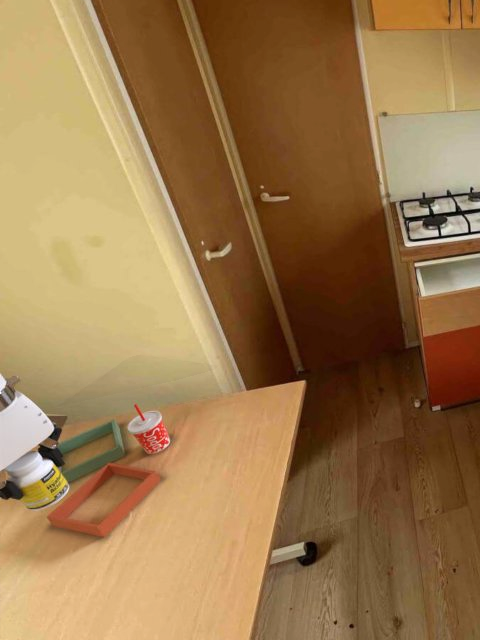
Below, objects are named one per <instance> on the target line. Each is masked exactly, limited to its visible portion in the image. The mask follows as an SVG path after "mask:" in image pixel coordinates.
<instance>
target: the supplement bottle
mask: <svg viewBox="0 0 480 640" xmlns="http://www.w3.org/2000/svg"><path fill="white" fill-rule="evenodd" d="M5 473H6V474H7V475H9V476H8V478H7V480H8V481H12V482H13V483H14V484H15V485H16V486H17V487H18V489H19V490H20V491H21V492H22V493H23V495H24V496H23V498H21V499H20V500H19V501H21V502H22V504H23V505H24V506H25V507H26V509H28V510H29V511H30V512H31V511H32V512H37V511H43V510H45V509H48V508H50V507H52V506H54V505H55V504H57V503H59V502H60V501H61V500H62V499H63V498H64V497H65V496H66V495H67V494H68V492H69V490H70V484H69V482H67V481H66V479H65V478H64V477H63V475H62V474H61V472H60V471H59V470H58V468H57V467H56V465H55V464H54V463H53V461H52V460H51V459H49V458H42V456H41V455H40V454H39V453H38V450H30V451H28V452H27V453H26V454H24V455H23V456H21V457H20V458H18V459H17V460H16V461H14V462H13V463H11V464H10V465H9V466H7V467H6V468H5Z"/></svg>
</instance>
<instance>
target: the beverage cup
mask: <svg viewBox="0 0 480 640" xmlns="http://www.w3.org/2000/svg"><path fill="white" fill-rule="evenodd" d="M133 405H134V406H133V407H134V408H135V410H136V412H137V413H138V415H137V416H136V417H134V418H133V419H131V420H130V421H129V423H128V425H127V426H126V427H127V431H128V432H129V433H130V434H131V435H133V436H134V438H135V439H136V441H137V442H138V443H139V445H140V446H141V447H142V449H143V450H144V451H145V452H146V453H147V454H149V455H151V454H152V455H153V454H158V453H159V452H161V451H163V450H164V449H166V448H167V447H168V446H169V445H170V443H171V437H170V436H169V433H168V431H167V429H166V427H165V426H166V425H165V424H164V421H163V416H162V413H161V412H160V411H159V410H150V411H145V412H142V411H141V409H140V407H139V405H138V404H136V403H135V404H133Z"/></svg>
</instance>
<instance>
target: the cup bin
mask: <svg viewBox="0 0 480 640" xmlns="http://www.w3.org/2000/svg"><path fill="white" fill-rule="evenodd" d="M114 475H120V476H124V477H130V478H135V479H140V480H143V481H142V482H140V484H139V485H137V486H136V488H134V489H133V491H132V492H130V493H129V494H128V495H127V496H126V497H125V498H124V499H123V500H122V501H121V502H120V503H119V504H118V505H117V506H116V507H115V508H114V509H113V510H112V511H111V512H110V513H109V514H108V515H107V516H106V517H105V518H103V520H102V521H101V522H100V523H99V524H96V523H91V522H87V521H84V520H83V521H81V520H78V519H73V518H68V516H70V514H72V513H73V511H74V510H76V509H77V508H78V507H80V505H81V504H82V503H84V501H86V500H87V499H88V498H89V497H90V496H91V495H92V494H93V493H95V492H96V491H97V490H98V489H99V488H100V487H102V485H103V484H104V483H106V482H107V481H108V480H109V479H110V478H111V477H112V476H114ZM159 482H161V477H160V476H159V474H158V473H157V471H156V470H150V469H147V468H141V467H135V466H130V465H124V464H119V463H114V462H110V463H108V464H106V465H103V466H102V468H100V469H99V470H98V471H97V472H96V473H95V474H94V475H93V476H91V477H90V478H89V479H88V480H87V481H86V482H85V483H84V484H82V485H81V486H80V487H79V488H78V489H77V490H76V491H74V492H72V494H71V495H70V496H69V497H67V498H66V499H65V500H64V501H63V502H61V504H59V505H58V506H57V507H56V508H55V509H54V510H52V511H51V512H50V513H49V514H48V515H47V516H46V519H47V520H48V521H49V522H50V524H51V525H52V526H53V527H56V528H61V529H65V530H70V531H74V532H80V533H84V534H89V535H94V536H97V537H102V538H105V537H106V536H107V535H108V534H109V533H110V532H111V531H112V530H113V529H114V528H115V527H116V526H117V525H118V524H119V523H120V522H121V521H122V520H123V519H124V518H125V517H126V516H127V515H128V514H129V513H130V512H131V511H132V510H133V509H134V508H135V506H137V505H138V504H139V503H140V502H141V501H142V500H143V499H144V498H145V497H146V496H147V495H148V493H150V492H151V491H152V489H153V488H154V487H155V486H157V484H159Z"/></svg>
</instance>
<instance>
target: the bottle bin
mask: <svg viewBox="0 0 480 640" xmlns="http://www.w3.org/2000/svg"><path fill="white" fill-rule="evenodd" d="M110 433H113V436H114V443H115V447H112V448H110V449H108V450H106V451H104V452H102V453H100V454H97V455H96V456H93V457H91V458H89V459H87V460H85V461H82V462H81V463H78V464H76V465H74V466H72V467H70V468H67V469H66V470H63V471H62V467H57V468H58V470H59V471H60V472H61V474H62V475H63V477H64V478H65V479H66V481H67V482H68V483H71V482H72V481H75V480H76V479H78V478H81V477H82V476H86V475H87V474H89V473H91V472H93V471H96V470H98V469H99V468H101V467H104V466H105V465H107V464H108V463H113V462H114V461H115V460H118V459H120V458H122V457H124V456H125V455H126V454H125V448H124V443H123V439H122V434H121V429H120V425H119V424H118V422H117V421H116V419H115V418H113V419H111V420H109V421H106V422H104V423H102V424H100V425H97V426H95V427H93V428H90V429H88V430H86V431H83V432H81V433H78V434H76V435H74V436H72V437H70V438H67V439H65V440H63V441H61V442H59V445H58V447H57V448H58V449H59V450H60V452H61V453H62V455H64V454H66V453H68V452H70V451H73V450H75V449H78V448H79V447H81V446H84V445H86V444H89V443H91V442H92V441H95V440H97V439H99V438H102V437H104V436H106V435H108V434H110Z"/></svg>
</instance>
